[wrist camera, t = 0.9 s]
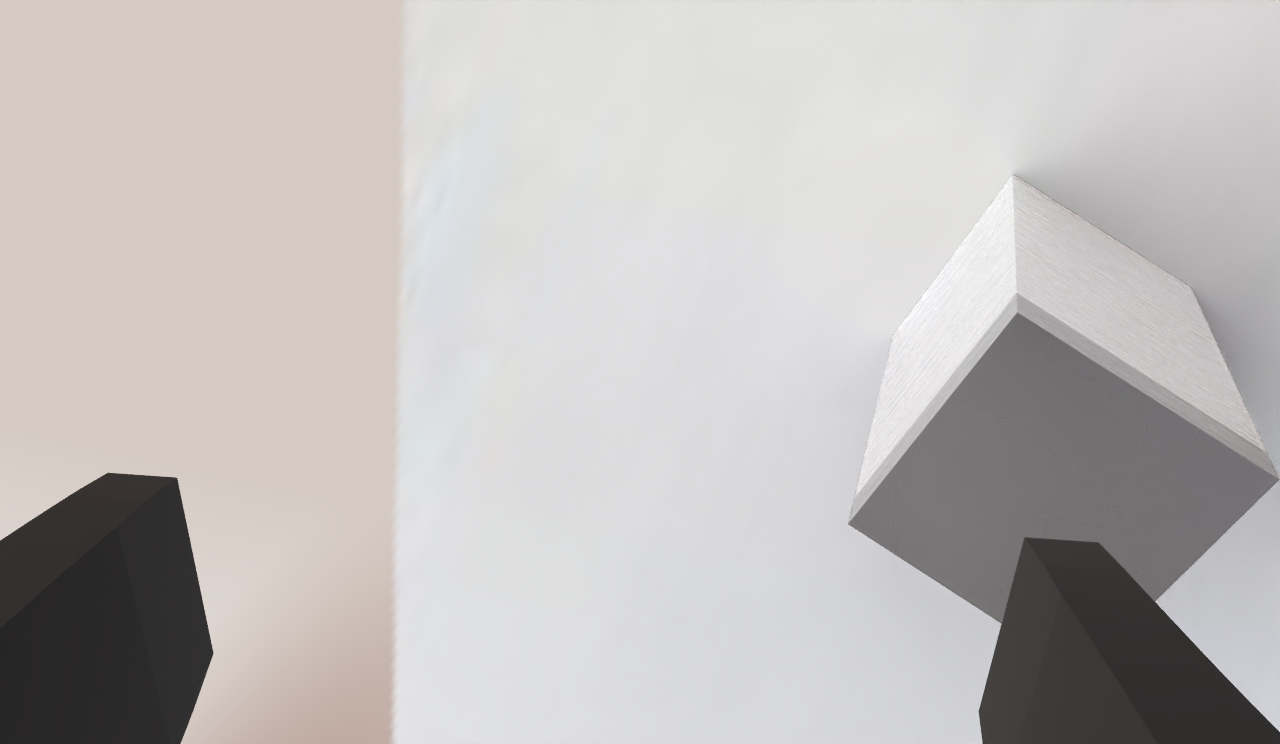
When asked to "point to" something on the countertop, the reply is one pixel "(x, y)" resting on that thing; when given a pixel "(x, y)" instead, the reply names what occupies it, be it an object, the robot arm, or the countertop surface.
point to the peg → (1054, 411)
